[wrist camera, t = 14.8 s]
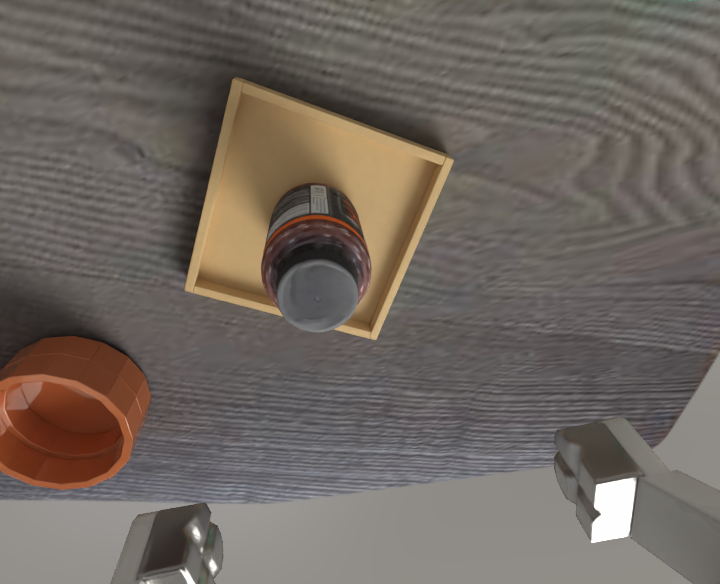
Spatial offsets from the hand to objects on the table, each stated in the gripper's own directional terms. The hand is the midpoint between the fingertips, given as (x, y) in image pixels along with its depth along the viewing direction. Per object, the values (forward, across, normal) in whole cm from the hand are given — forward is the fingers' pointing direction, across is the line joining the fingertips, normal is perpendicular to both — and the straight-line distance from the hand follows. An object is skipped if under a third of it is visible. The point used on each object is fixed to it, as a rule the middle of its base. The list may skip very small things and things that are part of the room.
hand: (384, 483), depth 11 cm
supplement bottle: (+24, +2, +2) cm, 25 cm away
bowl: (+25, +22, +12) cm, 35 cm away
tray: (+25, +2, +2) cm, 25 cm away
